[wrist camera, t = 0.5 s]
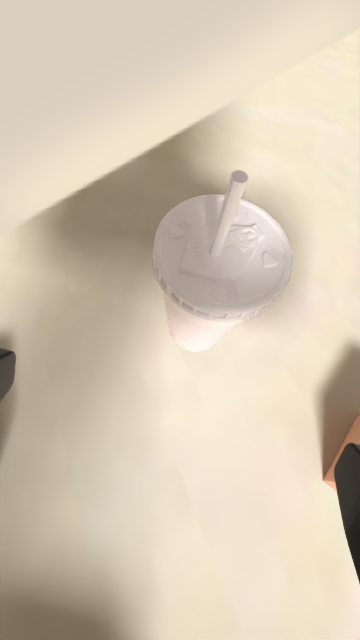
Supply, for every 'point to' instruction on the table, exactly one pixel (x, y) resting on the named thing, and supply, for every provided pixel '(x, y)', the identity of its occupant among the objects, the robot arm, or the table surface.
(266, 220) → the smoothie
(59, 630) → the table surface
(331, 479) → the terracotta block
